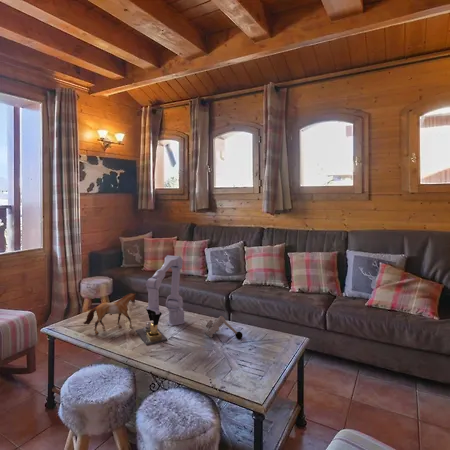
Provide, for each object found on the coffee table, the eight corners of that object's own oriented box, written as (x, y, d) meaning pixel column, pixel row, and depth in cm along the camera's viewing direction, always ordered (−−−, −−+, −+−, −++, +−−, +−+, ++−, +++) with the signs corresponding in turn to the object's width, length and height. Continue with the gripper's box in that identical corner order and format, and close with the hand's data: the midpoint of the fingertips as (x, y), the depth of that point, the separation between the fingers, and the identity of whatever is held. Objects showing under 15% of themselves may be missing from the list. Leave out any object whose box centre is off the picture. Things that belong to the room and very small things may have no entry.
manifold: (155, 327, 200) (155, 317, 200) (167, 340, 182) (167, 330, 182) (135, 331, 194) (135, 321, 194) (146, 345, 176) (146, 334, 176)
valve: (225, 356, 184) (242, 340, 180) (200, 332, 186) (216, 315, 181) (229, 347, 194) (245, 331, 190) (205, 324, 195) (220, 308, 191)
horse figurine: (136, 323, 207) (135, 291, 205) (138, 327, 200) (138, 295, 198) (83, 331, 193) (82, 298, 191) (84, 336, 186) (83, 302, 184)
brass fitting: (156, 335, 187) (156, 321, 186) (158, 337, 183) (158, 324, 183) (149, 336, 185) (149, 323, 184) (151, 339, 181) (151, 325, 180)
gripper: (142, 296, 186) (143, 319, 187) (150, 304, 174) (150, 328, 175) (154, 295, 190) (154, 317, 191) (163, 302, 177) (163, 326, 179)
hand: (153, 322), depth 183 cm, fingers open, 7 cm apart
